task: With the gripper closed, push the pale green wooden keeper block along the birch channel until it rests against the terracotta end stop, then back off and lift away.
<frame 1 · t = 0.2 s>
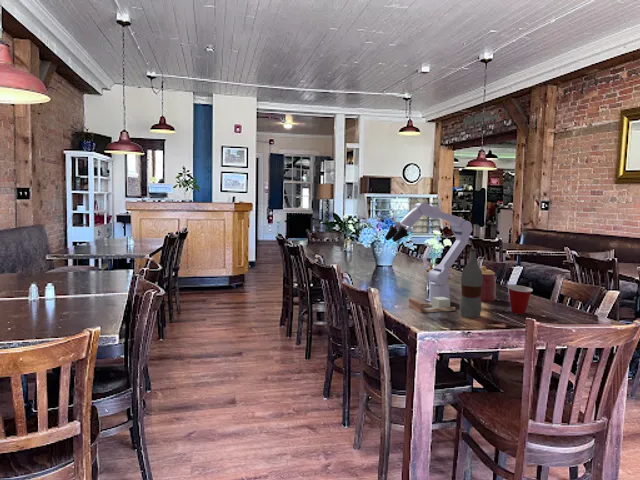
hand: (389, 239, 226), 32 cm above the table, tool tilted 50°, fingers open, 7 cm apart
bottle: (469, 316, 209), on the table
canister: (482, 299, 246), on the table
plastic cup: (518, 313, 217), on the table
keeper channel: (431, 308, 222), on the table
keeper block: (440, 308, 223), resting in keeper channel
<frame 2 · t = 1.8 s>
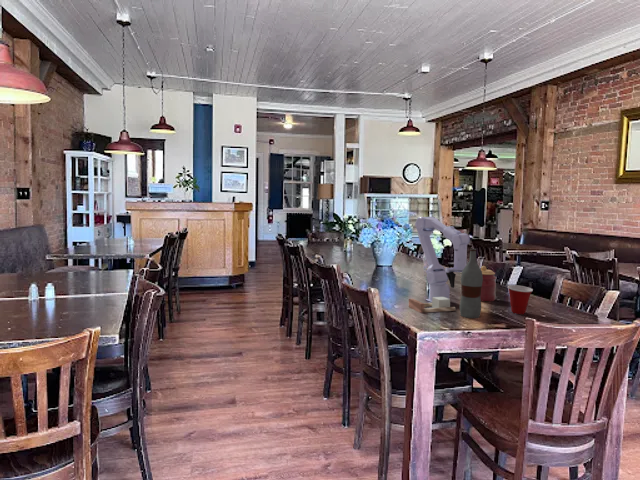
hand: (459, 287, 224), 10 cm above the table, tool pointing down, fingers open, 7 cm apart
nothing on the table moved.
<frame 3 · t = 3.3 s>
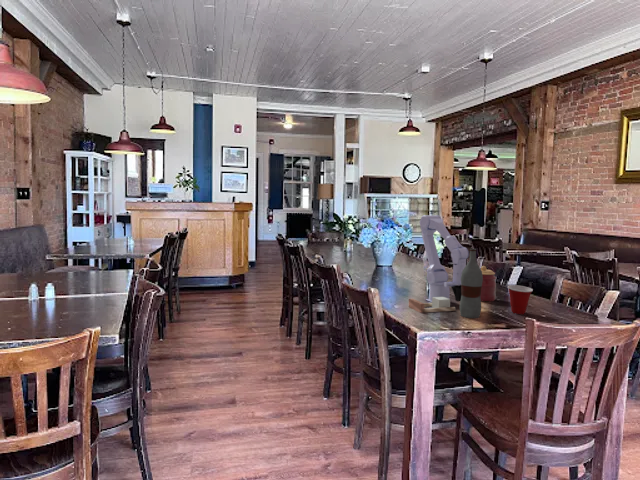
hand: (457, 301, 225), 3 cm above the table, tool pointing down, fingers closed
nothing on the table moved.
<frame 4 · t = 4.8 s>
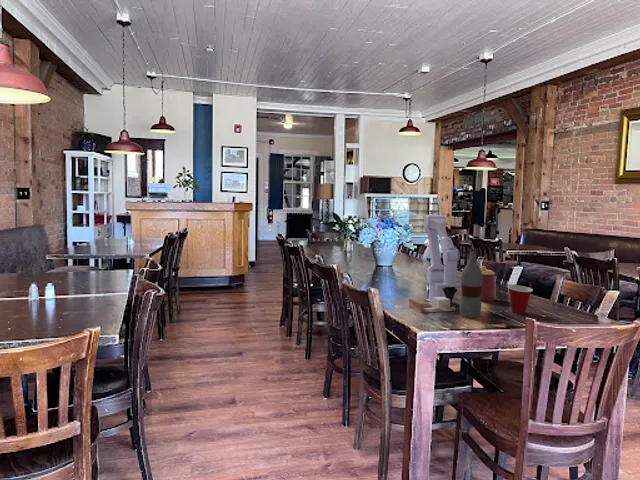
hand: (449, 302, 224), 2 cm above the table, tool pointing down, fingers closed
keeper block: (440, 308, 223), resting in keeper channel, touching gripper
everything else where it was.
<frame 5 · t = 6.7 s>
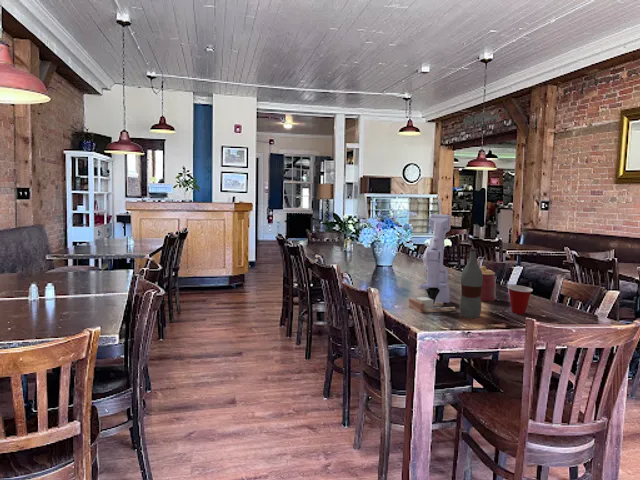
hand: (432, 303, 222), 2 cm above the table, tool pointing down, fingers closed
keeper block: (424, 309, 220), resting in keeper channel, touching gripper
everything else where it was.
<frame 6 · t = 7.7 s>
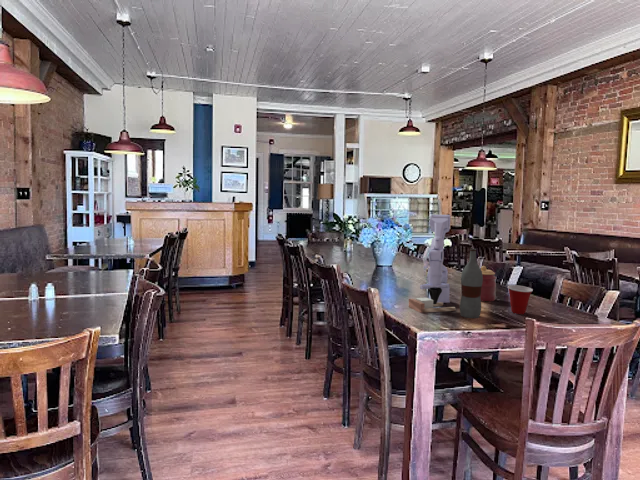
hand: (434, 303, 222), 2 cm above the table, tool pointing down, fingers closed
keeper block: (424, 309, 221), resting in keeper channel
everything else where it was.
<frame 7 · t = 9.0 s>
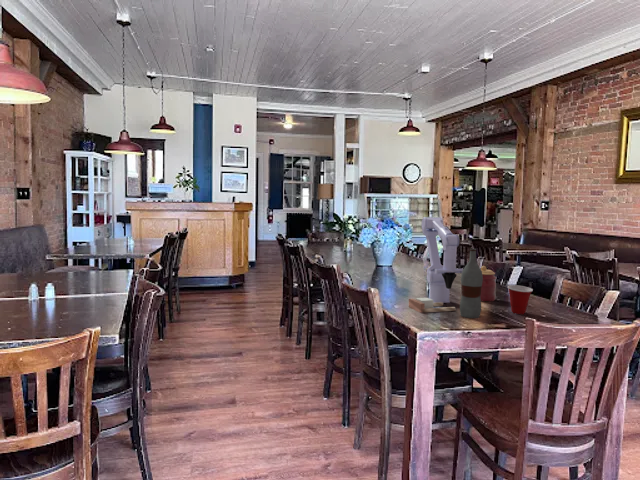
hand: (448, 288, 224), 9 cm above the table, tool pointing down, fingers closed
nothing on the table moved.
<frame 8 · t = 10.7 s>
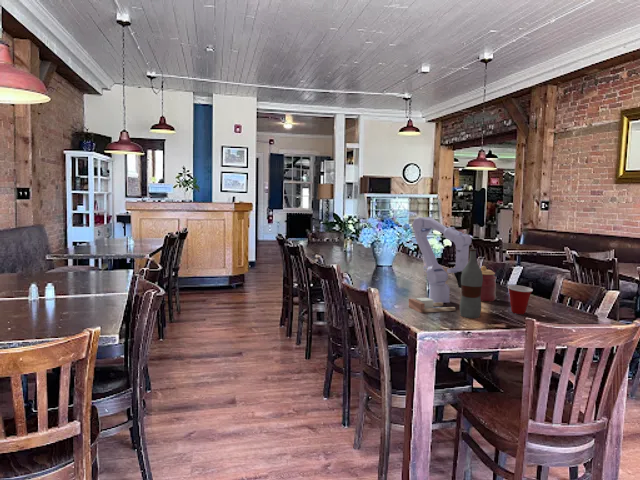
hand: (460, 287, 227), 9 cm above the table, tool pointing down, fingers closed
nothing on the table moved.
at the end: keeper block 0.3 cm from the target spot on the keeper channel, point 0.0 cm above the keeper channel's base; keeper block tilted 0° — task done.
